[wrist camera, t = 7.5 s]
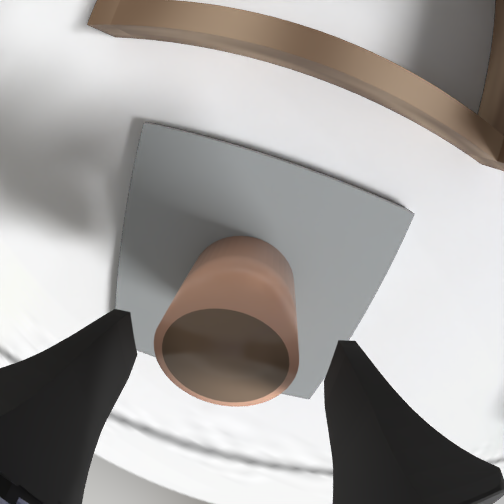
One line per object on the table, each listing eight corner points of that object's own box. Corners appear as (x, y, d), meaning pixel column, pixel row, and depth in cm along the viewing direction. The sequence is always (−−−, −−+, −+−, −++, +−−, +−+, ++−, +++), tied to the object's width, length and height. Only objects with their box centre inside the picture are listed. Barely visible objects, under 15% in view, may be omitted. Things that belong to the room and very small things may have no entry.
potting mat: (407, 209, 12) (414, 213, 12) (308, 389, 17) (309, 399, 16) (151, 122, 12) (143, 122, 11) (119, 333, 16) (114, 341, 16)
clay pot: (302, 243, 13) (314, 311, 8) (285, 331, 14) (285, 413, 10) (193, 229, 13) (147, 287, 8) (192, 318, 15) (160, 394, 10)
